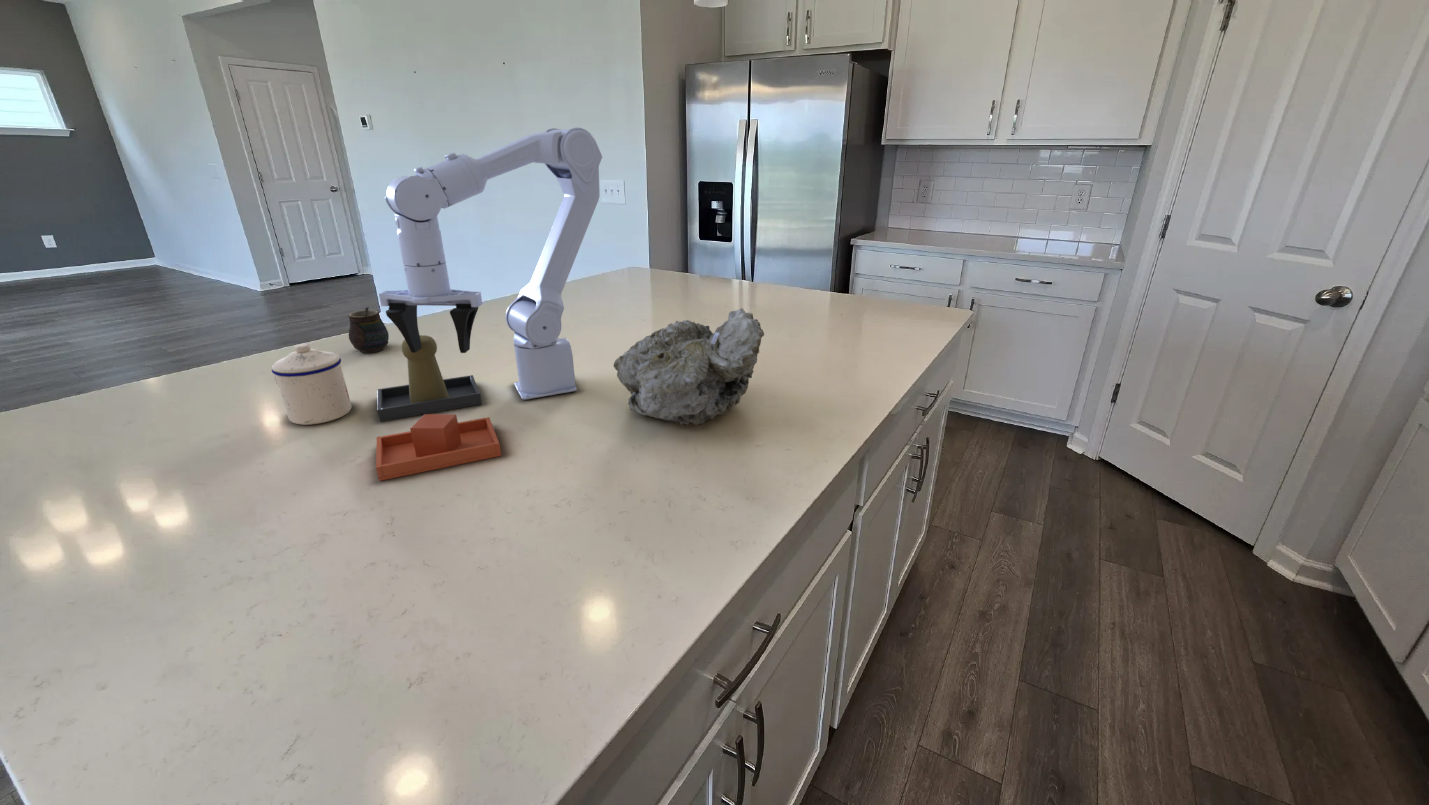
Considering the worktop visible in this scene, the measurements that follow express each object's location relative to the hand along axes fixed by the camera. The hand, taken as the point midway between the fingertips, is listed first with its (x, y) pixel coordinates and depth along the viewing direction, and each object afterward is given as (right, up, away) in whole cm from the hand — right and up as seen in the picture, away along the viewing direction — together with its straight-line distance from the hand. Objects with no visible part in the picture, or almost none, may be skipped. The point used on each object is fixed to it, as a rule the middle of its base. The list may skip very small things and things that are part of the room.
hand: (440, 350), depth 92 cm
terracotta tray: (+4, -15, -9) cm, 18 cm away
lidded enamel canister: (-22, -10, +3) cm, 24 cm away
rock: (+39, -10, +5) cm, 40 cm away
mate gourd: (-30, +3, +32) cm, 44 cm away
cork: (-5, -8, +7) cm, 12 cm away
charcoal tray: (-5, -8, +7) cm, 12 cm away
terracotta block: (+4, -15, -9) cm, 18 cm away
